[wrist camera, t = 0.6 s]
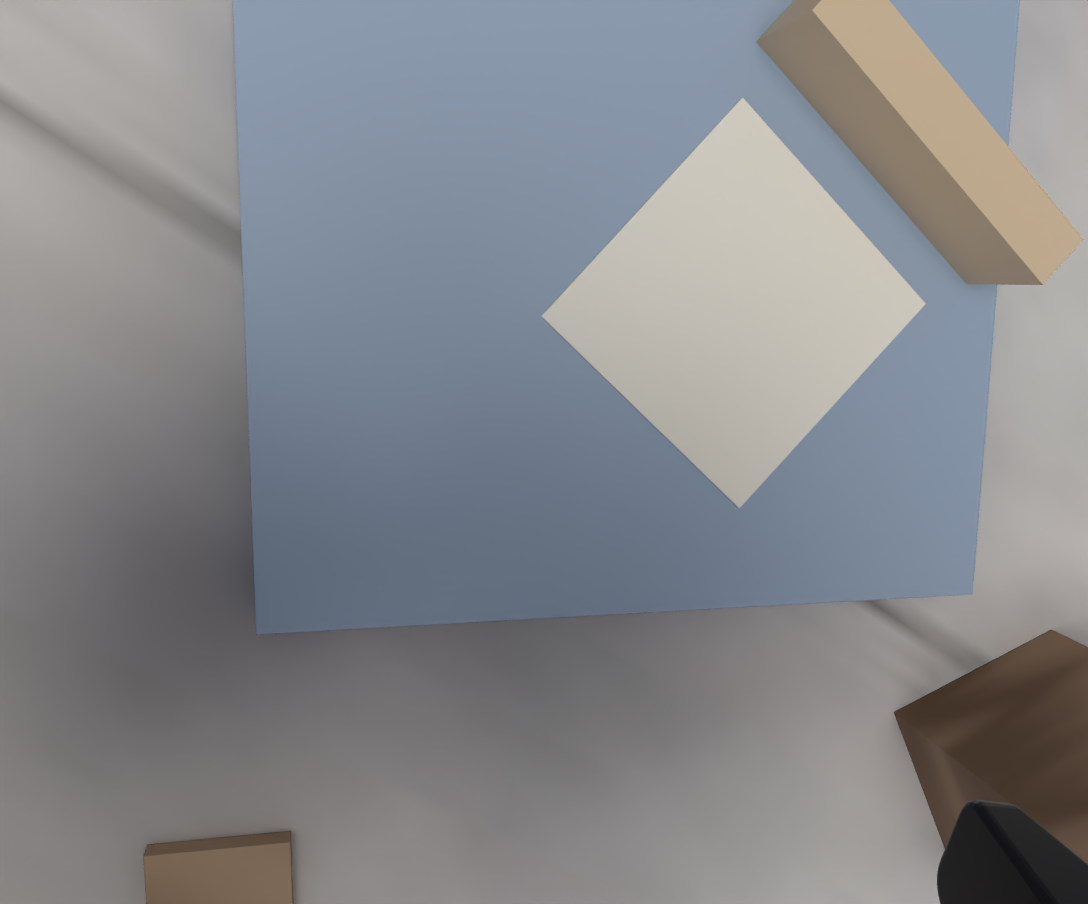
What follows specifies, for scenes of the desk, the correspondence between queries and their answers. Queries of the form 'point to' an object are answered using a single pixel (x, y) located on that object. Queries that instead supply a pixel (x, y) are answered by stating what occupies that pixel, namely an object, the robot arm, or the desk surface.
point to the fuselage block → (1009, 739)
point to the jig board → (622, 301)
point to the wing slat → (221, 870)
